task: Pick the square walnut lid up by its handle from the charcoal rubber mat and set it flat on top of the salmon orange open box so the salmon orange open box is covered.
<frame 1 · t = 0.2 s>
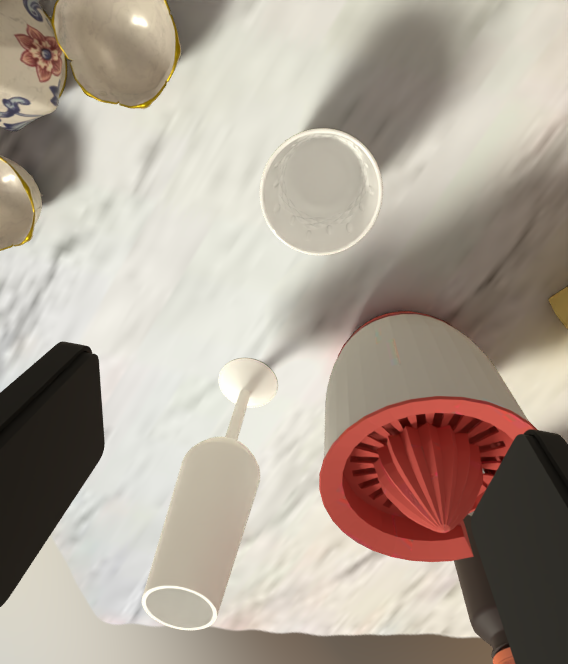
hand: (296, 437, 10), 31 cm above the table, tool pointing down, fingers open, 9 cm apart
chinaware: (48, 87, 35), on the table
bottle: (464, 490, 51), on the table
white cup: (323, 173, 36), on the table
citrus juicer: (405, 363, 44), on the table
champagne flute: (248, 382, 47), on the table
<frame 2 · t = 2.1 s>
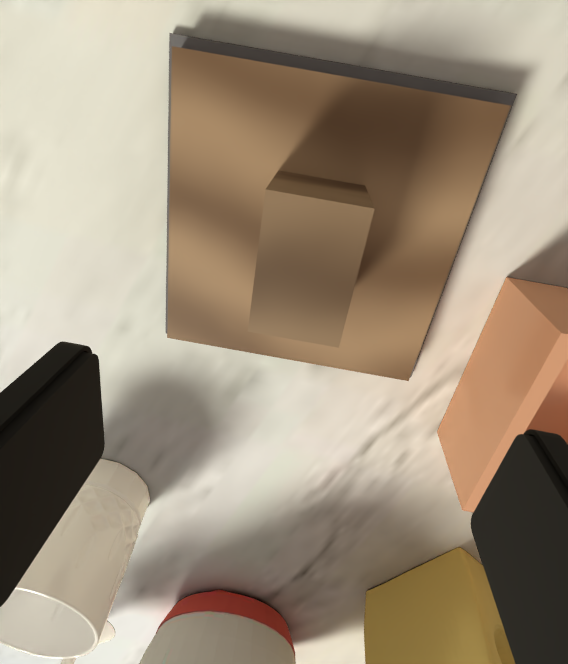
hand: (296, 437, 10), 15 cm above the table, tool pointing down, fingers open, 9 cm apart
mat: (310, 232, 22), on the table
white cup: (110, 485, 34), on the table
salmon orange open box: (560, 379, 25), on the table
citrus juicer: (237, 622, 42), on the table
champagne flute: (85, 624, 45), on the table
lid: (310, 234, 22), resting on mat
cheese: (443, 591, 36), on the table
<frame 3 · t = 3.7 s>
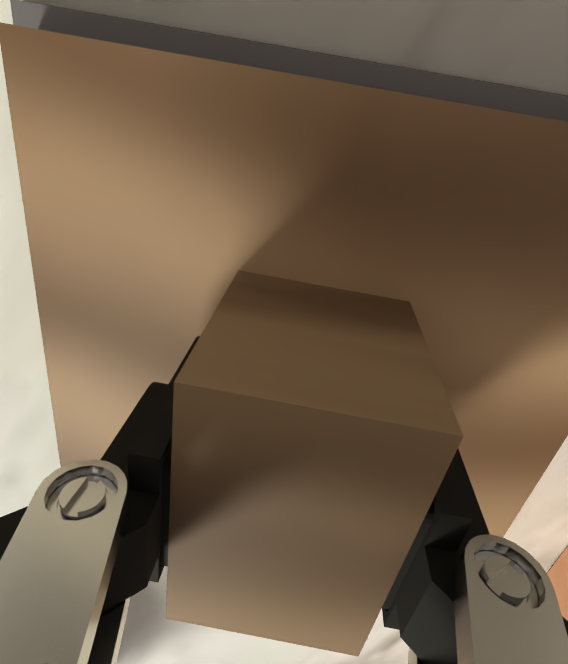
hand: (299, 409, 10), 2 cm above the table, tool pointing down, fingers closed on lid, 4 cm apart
mat: (304, 360, 12), on the table
lid: (304, 365, 12), resting on mat, touching gripper
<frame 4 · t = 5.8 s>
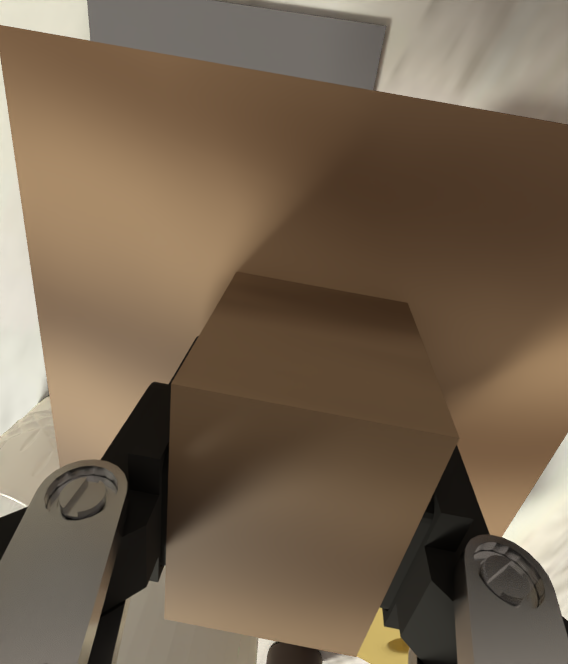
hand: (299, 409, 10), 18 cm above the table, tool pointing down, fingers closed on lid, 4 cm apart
mat: (227, 163, 25), on the table
bottle: (294, 651, 53), on the table
white cup: (75, 423, 37), on the table
citrus juicer: (204, 560, 45), on the table
lid: (302, 366, 12), point 16 cm above the table, touching gripper
cheese: (388, 519, 39), on the table
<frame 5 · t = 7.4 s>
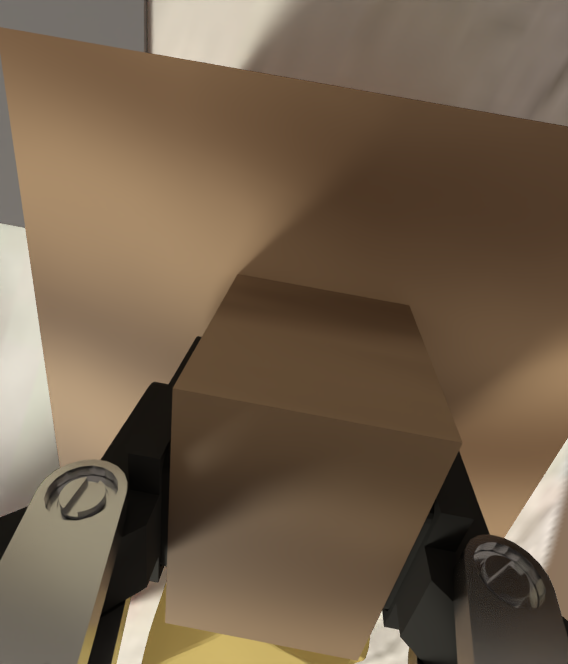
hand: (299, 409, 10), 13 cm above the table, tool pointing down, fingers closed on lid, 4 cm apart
lid: (303, 368, 12), point 11 cm above the table, touching gripper
cheese: (270, 533, 33), on the table
when the fingers open (9 cm above the table, at t = 8.2 s): lid drops 1 cm, resting on salmon orange open box.
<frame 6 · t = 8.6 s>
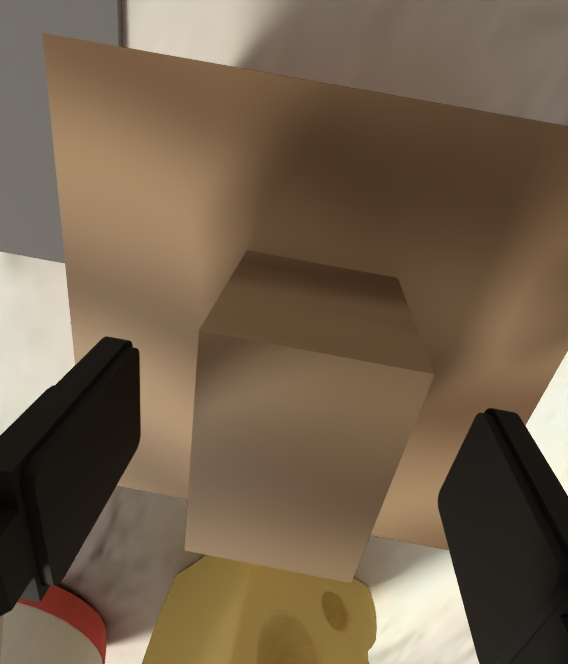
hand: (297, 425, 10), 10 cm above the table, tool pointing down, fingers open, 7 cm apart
citrus juicer: (51, 614, 35), on the table
lid: (304, 340, 13), point 6 cm above the table, touching salmon orange open box
cheese: (267, 576, 30), on the table
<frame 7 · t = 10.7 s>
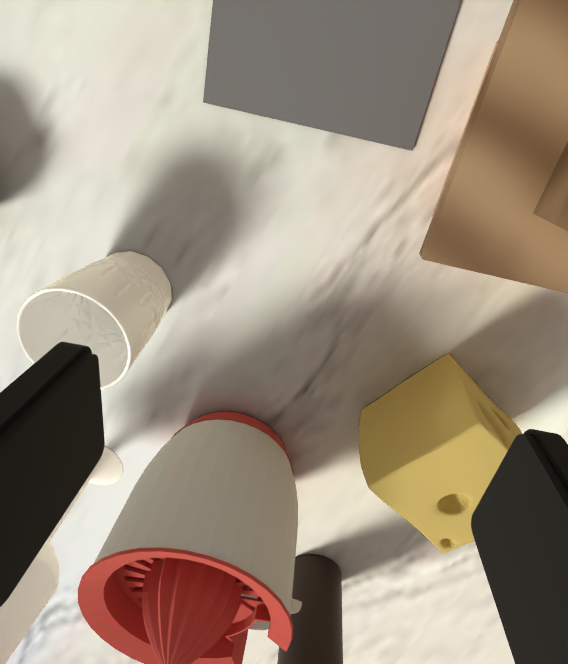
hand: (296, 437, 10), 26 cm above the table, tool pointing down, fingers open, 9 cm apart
bottle: (314, 569, 53), on the table
white cup: (136, 286, 37), on the table
citrus juicer: (240, 455, 45), on the table
champagne flute: (95, 462, 48), on the table
cheese: (431, 411, 40), on the table
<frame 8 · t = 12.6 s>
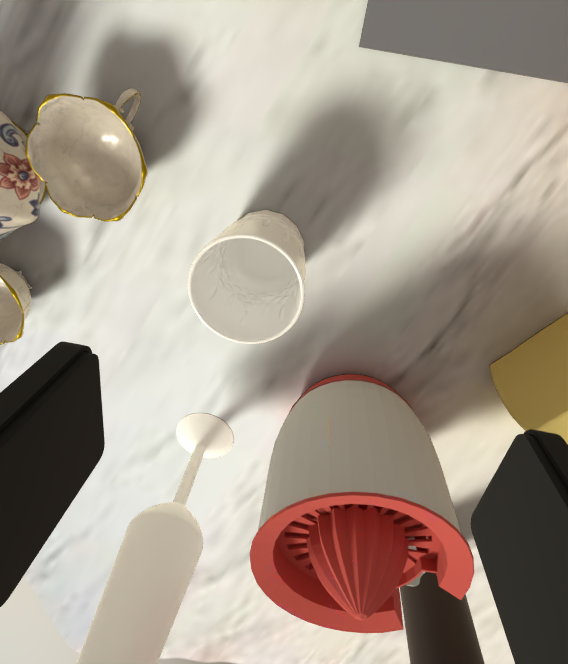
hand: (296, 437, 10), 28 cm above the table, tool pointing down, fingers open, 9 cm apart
chinaware: (30, 193, 37), on the table
bottle: (420, 537, 52), on the table
white cup: (266, 247, 37), on the table
citrus juicer: (355, 420, 45), on the table
champagne flute: (205, 435, 48), on the table
cheese: (561, 364, 40), on the table
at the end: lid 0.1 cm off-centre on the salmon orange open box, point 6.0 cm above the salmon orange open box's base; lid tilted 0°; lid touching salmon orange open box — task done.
